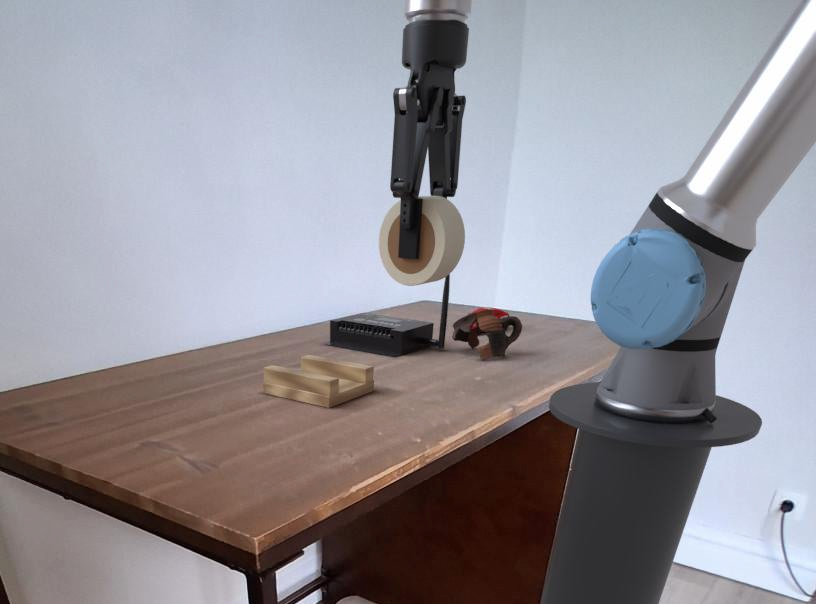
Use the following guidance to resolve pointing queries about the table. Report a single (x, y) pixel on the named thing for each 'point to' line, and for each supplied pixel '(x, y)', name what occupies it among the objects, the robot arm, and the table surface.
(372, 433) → the table surface
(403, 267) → the tape roll
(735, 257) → the robot arm
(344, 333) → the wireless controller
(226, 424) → the table surface
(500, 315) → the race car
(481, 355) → the pottery mug
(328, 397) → the tape holder
